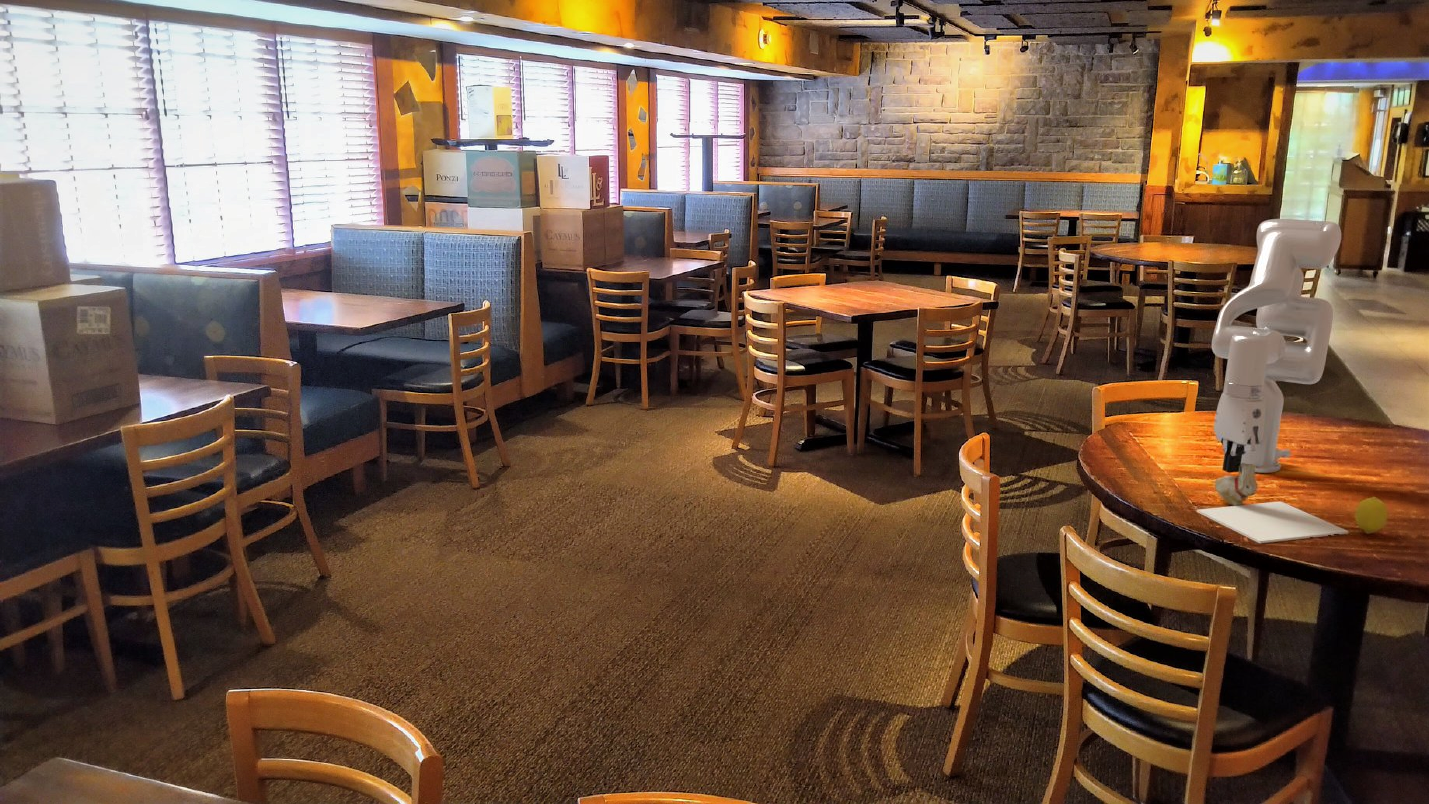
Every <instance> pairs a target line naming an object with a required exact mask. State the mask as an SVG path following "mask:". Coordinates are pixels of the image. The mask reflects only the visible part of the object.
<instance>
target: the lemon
mask: <svg viewBox="0 0 1429 804" xmlns="http://www.w3.org/2000/svg"><path fill="white" fill-rule="evenodd" d="M1354 518H1355V519H1354V520H1355V522H1356V525H1357V526H1358V527H1359V529H1361V530H1363V531H1364V533H1365V534H1368V535H1369V534H1372V533H1374V532H1378V531H1380V530H1381V529H1383V528H1384V527H1385V525H1386V523H1387V520H1388V508H1387V506H1386V504H1385V503H1384V502H1383V501H1382V500H1381V499H1379V498H1377V497H1376V496H1372V497H1368V498H1365V499H1363V500H1362V501H1360V502H1359V504H1358V505H1357V507H1356V509H1355V513H1354Z"/></svg>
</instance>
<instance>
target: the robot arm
mask: <svg viewBox="0 0 1429 804" xmlns="http://www.w3.org/2000/svg"><path fill="white" fill-rule="evenodd" d="M1341 240H1342V231H1341V227H1340V226H1339V224H1338V223H1336V222H1334V221H1327V220H1326V221H1325V220H1312V219H1311V220H1310V219H1309V220H1308V219H1294V218H1293V219H1292V218H1273V219H1267V220H1264V221H1262V222H1260V224H1259V225H1258V227H1257V231H1256V246H1257V254H1256V258H1255V262H1254V266H1253V270H1252V272H1251V276H1250V282H1249V284H1248V286H1246V287H1245V288H1243V289H1241V290H1240V291H1239V292H1237V293H1235V295H1233V296H1232V297H1231V298H1229V300H1227V302H1226V303H1225V304H1224V305H1223V307H1222V308H1221V309H1220V312H1219V313H1218V317H1217V321H1216V324H1215V326H1214V331H1213V334H1212V339H1211V350H1212V352H1213V354H1214V355H1215V356H1216V357H1218V358H1222V359H1226V360H1227V362H1226V363H1227V364H1226V370H1225V378H1224V385H1223V391H1222V393H1221V396H1220V398H1219V401H1218V403H1217V407H1216V408H1217V409H1216V412H1215V415H1214V417H1215V418H1214V422H1213V432H1214V434H1215V439H1216V440H1217V441H1219V443H1220V442H1221V445H1222V452H1223V453H1224V456H1223V464H1222V471H1224V472H1227V473H1229V474H1230V473H1231V474H1232V473H1239V467H1240V464H1242V463H1245V464H1253V465H1254V467H1255V473H1259V474H1261V473H1262V474H1268V473H1275V472H1276V473H1277V472H1279V471H1280V470H1281V466H1282V465H1281V462H1279V461H1278V460H1280V459H1281V458H1289V457H1291V455H1292V454H1291V453H1292V452H1291V450H1290V449H1289V448H1288V449H1279V448H1277V445H1278V439H1279V438H1278V437H1279V434H1280V433H1279V432H1280V427H1281V426H1280V425H1281V420H1282V419H1281V418H1282V414H1283V413H1282V412H1283V409H1284V401H1285V400H1284V395H1283V392H1282V390H1281V389H1280V386H1278V384H1277V383H1276V382H1286V383H1295V384H1303V385H1313V384H1316V383H1318V382H1319V381H1320V379H1322V376H1323V373H1324V371H1325V366H1326V360H1327V354H1328V351H1329V350H1328V349H1329V344H1330V339H1331V333H1332V327H1333V320H1334V308H1333V306H1332V304H1331V303H1330V302H1329V301H1328V300H1326V299H1323V298H1319V297H1308V296H1302V289H1303V285H1304V279H1305V278H1304V273H1303V271H1302V269H1310V270H1311V269H1314V270H1323V269H1325V268H1327V267H1328V266H1329V265H1330V264H1331V262H1332V260H1333V259H1334V257H1335V255H1336V254H1337V252H1338V251H1339V248H1340V244H1341V242H1342V241H1341ZM1256 309H1257V311H1256V316H1255V317H1256V318H1255V320H1256V321H1255V325H1256V327H1253V326H1252V327H1251V326H1242V325H1232V323H1233V322H1234V320H1235V319H1237V318H1238V317H1239V316H1241V315H1242V314H1244V313H1247V312H1249V311H1250V312H1251V311H1253V310H1256ZM1285 336H1287V337H1296V338H1303V339H1305V341H1306V343H1304V342H1296V341H1288V340H1286V339H1285V338H1284V337H1285Z"/></svg>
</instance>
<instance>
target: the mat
mask: <svg viewBox="0 0 1429 804" xmlns="http://www.w3.org/2000/svg"><path fill="white" fill-rule="evenodd" d="M1196 513H1198V514H1200V515H1202V516H1205V517H1206V518H1208V519H1210V520H1212V521H1214V522H1216V523H1218V524H1220V525H1221V526H1224V527H1225V528H1228V529H1230V530H1232V531H1234V532H1236V533H1238V534H1240V535H1242V536H1244V537H1247V538H1248V539H1250V540H1252V541H1253V542H1256V543H1258V544H1266V543H1274V542H1275V543H1276V542H1284V541H1286V542H1287V541H1292V540H1302V539H1310V537H1313V538H1319V537H1329V536H1328V535H1331V536H1335V535H1334V534H1339V535H1347V534H1349V530H1347V529H1344V528H1342V527H1340V526H1337V525H1335V524H1333V523H1331V522H1329V521H1327V520H1324V519H1322V518H1319V517H1317V516H1315V515H1312V514H1310V513H1308V512H1305V511H1304V510H1302V509H1299V508H1297V507H1294V506H1292V505H1290V504H1287V503H1285V502H1283V501H1271V502H1261V503H1252V504H1242V505H1239V506H1234V505H1231V506H1222V507H1212V508H1211V507H1210V508H1203V509H1202V508H1201V509H1196Z"/></svg>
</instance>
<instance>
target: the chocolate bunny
mask: <svg viewBox="0 0 1429 804" xmlns="http://www.w3.org/2000/svg"><path fill="white" fill-rule="evenodd" d="M1255 476H1256V472H1255V467H1254V465H1253V464H1245V463H1242V464H1240V467H1239V472H1238V475H1237V476H1235V477H1234V476H1232V475H1224V476H1222V477H1218V478H1216V479H1215V481H1214V489H1215V491H1216V492H1217V494H1218V496H1220V497H1221V499H1223V500H1224V501H1226V502H1227V503H1228V504H1230V505H1231V506H1239V505H1243V502H1245V501H1247V500H1248V498H1249V497H1251V496H1254V495H1255V494H1256V492H1257V489H1258V483H1257V480H1256V477H1255Z"/></svg>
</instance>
